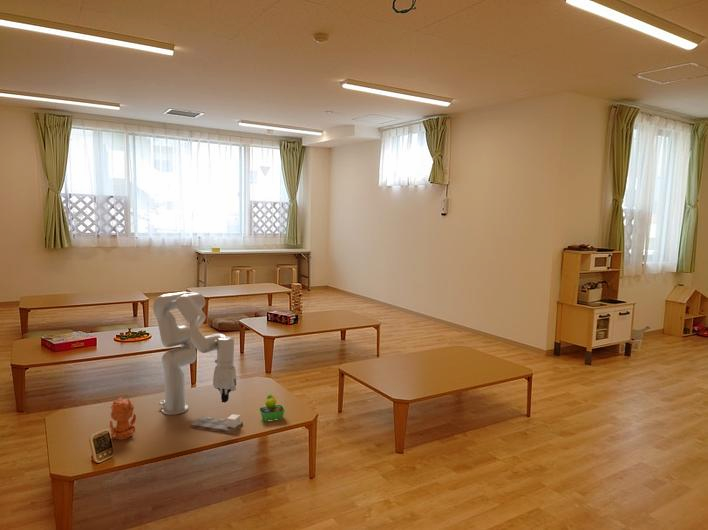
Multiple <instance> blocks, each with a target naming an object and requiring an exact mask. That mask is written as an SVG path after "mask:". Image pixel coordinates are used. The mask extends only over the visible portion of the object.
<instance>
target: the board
mask: <svg viewBox="0 0 708 530" xmlns="http://www.w3.org/2000/svg"><path fill="white" fill-rule="evenodd" d="M243 424H244V423H243V421H240V424H239V425H238V426H236V427H235V428H233V427H227V418H226V419H225V418H218V417H211V416H205V415H201V416H200V417H198V418H197V419H195V420H194V421H193V422H191V423H189V428H192V429H198V430H205V431H211V432H216V431H217V433H222V434H230V435H233V434H234V433H235V432H236V431H237V430H239V429H240V428H241V427H242V426H243Z"/></svg>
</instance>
